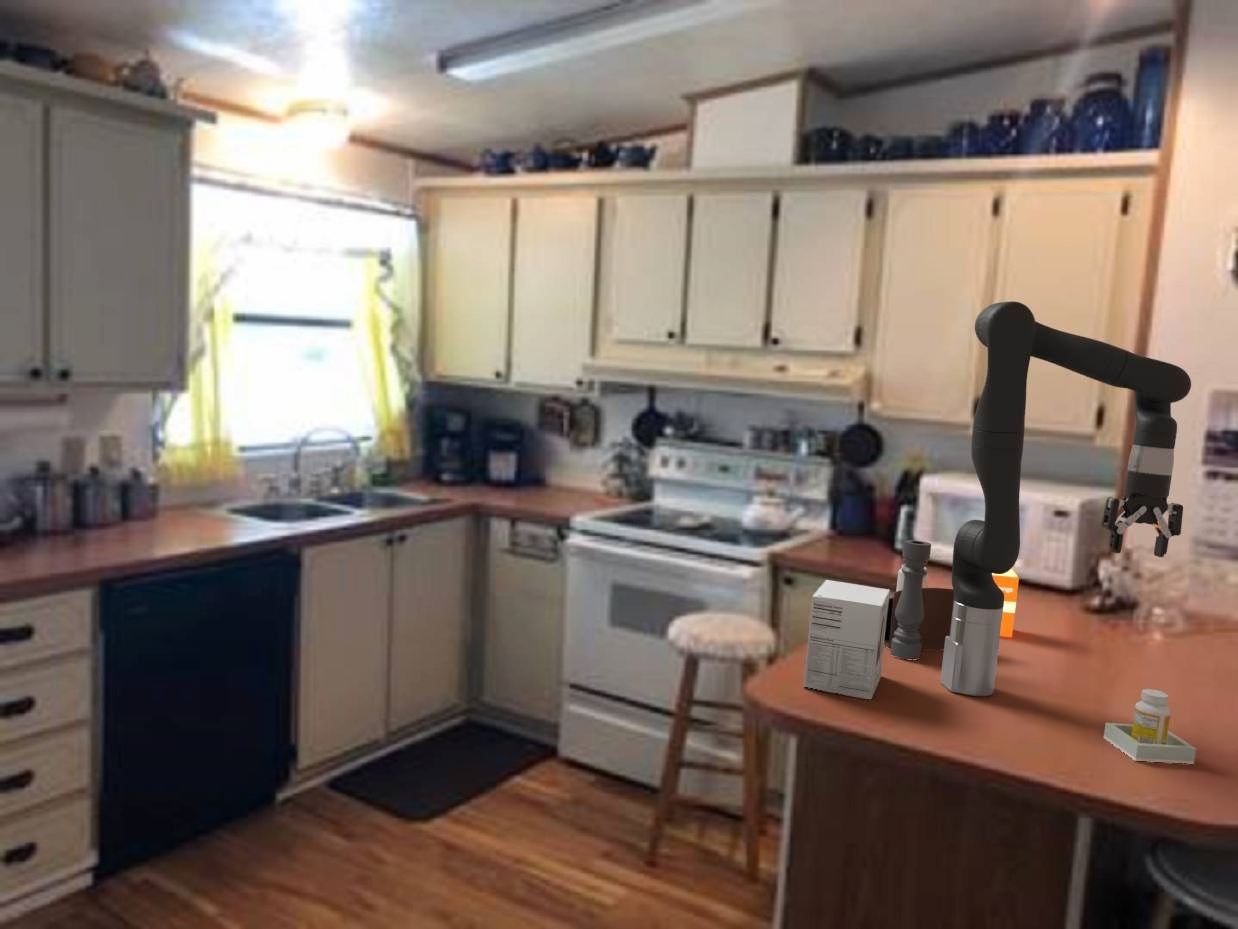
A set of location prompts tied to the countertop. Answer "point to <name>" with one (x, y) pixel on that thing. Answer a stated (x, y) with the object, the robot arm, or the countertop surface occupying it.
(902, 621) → the candle holder
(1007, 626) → the orange juice
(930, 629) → the letter holder
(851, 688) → the supplement box
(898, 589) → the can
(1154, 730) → the supplement bottle
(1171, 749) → the square tray
